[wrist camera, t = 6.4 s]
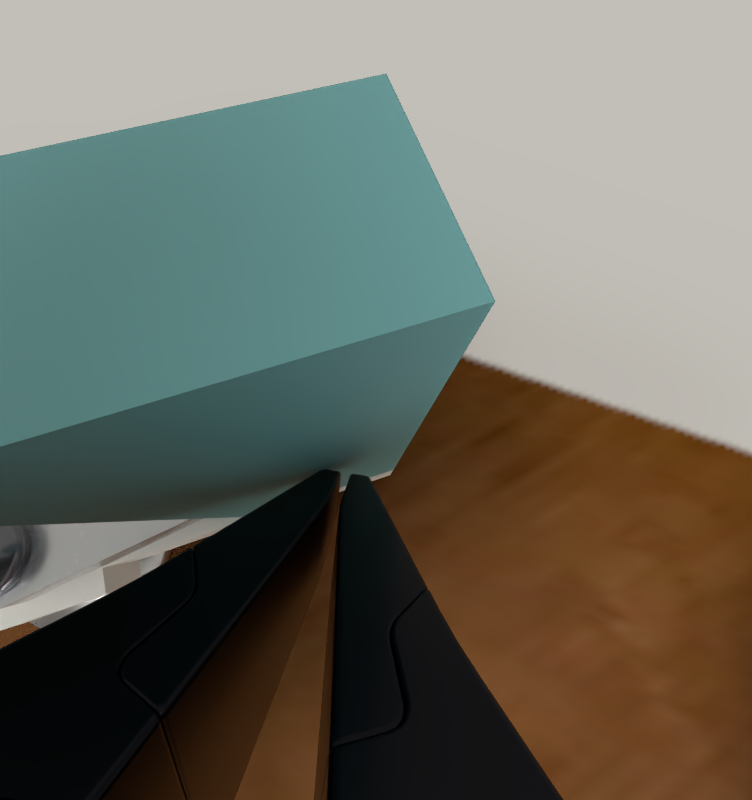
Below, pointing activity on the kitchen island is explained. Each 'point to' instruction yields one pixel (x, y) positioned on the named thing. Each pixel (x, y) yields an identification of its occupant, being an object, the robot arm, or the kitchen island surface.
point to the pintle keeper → (71, 555)
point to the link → (220, 315)
